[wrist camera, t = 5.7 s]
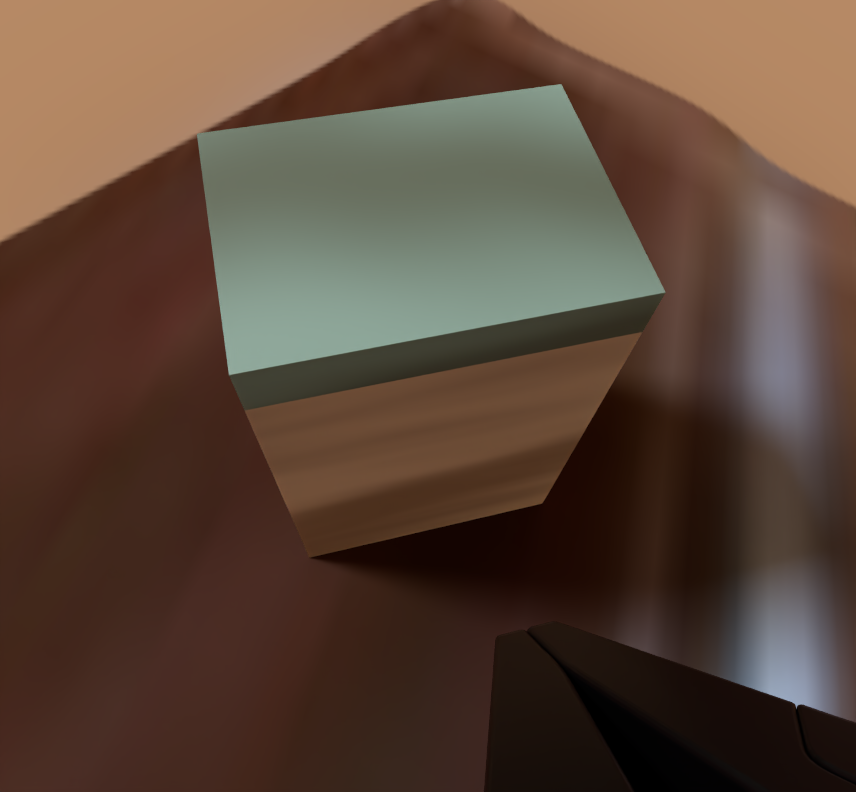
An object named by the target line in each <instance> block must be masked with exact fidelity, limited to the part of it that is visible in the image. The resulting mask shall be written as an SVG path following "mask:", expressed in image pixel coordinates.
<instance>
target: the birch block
mask: <svg viewBox="0 0 856 792" xmlns="http://www.w3.org/2000/svg"><path fill="white" fill-rule="evenodd" d="M197 137H198V145H199V152H200V160H201V167H202V175H203V183H204V190H205V198H206V205H207V213H208V220H209V228H210V235H211V243H212V250H213V258H214V265H215V273H216V280H217V288H218V295H219V303H220V310H221V318H222V325H223V333H224V340H225V348H226V355H227V363H228V370H229V376H230V378H231V380H232V383H233V385H234V387H235V389H236V392H237V394H238V396H239V399H240V401H241V403H242V405H243V408H244V410H245V412H246V415H247V417H248V419H249V421H250V424H251V426H252V428H253V430H254V433H255V435H256V437H257V440H258V442H259V444H260V446H261V449H262V451H263V453H264V455H265V458H266V460H267V462H268V465H269V467H270V469H271V471H272V474H273V476H274V478H275V481H276V483H277V485H278V487H279V490H280V492H281V494H282V496H283V499H284V501H285V503H286V506H287V508H288V510H289V512H290V515H291V517H292V519H293V521H294V524H295V526H296V528H297V531H298V533H299V535H300V537H301V540H302V542H303V544H304V547H305V549H306V551H307V553H308V556H309V558H310V557H315V556H319V555H323V554H327V553H332V552H336V551H340V550H345V549H349V548H353V547H358V546H362V545H366V544H370V543H375V542H379V541H383V540H388V539H392V538H396V537H401V536H405V535H409V534H413V533H418V532H422V531H426V530H431V529H435V528H439V527H443V526H448V525H452V524H456V523H461V522H465V521H469V520H474V519H478V518H482V517H486V516H491V515H495V514H499V513H504V512H508V511H512V510H517V509H521V508H525V507H529V506H534V505H538V504H542V503H543V502H544V500H545V498H546V497H547V495H548V493H549V491H550V490H551V488H552V486H553V485H554V483H555V481H556V479H557V478H558V476H559V474H560V473H561V471H562V469H563V467H564V466H565V464H566V462H567V461H568V459H569V457H570V455H571V454H572V452H573V450H574V449H575V447H576V445H577V443H578V442H579V440H580V438H581V437H582V435H583V433H584V431H585V430H586V428H587V426H588V425H589V423H590V421H591V419H592V418H593V416H594V414H595V413H596V411H597V409H598V407H599V406H600V404H601V402H602V400H603V399H604V397H605V395H606V394H607V392H608V390H609V388H610V387H611V385H612V383H613V382H614V380H615V378H616V376H617V375H618V373H619V371H620V370H621V368H622V366H623V364H624V363H625V361H626V359H627V358H628V356H629V354H630V352H631V351H632V349H633V347H634V346H635V344H636V342H637V340H638V339H639V337H640V335H641V334H642V332H643V330H644V328H645V327H646V325H647V323H648V322H649V320H650V318H651V316H652V315H653V313H654V311H655V310H656V308H657V306H658V304H659V303H660V301H661V299H662V298H663V296H664V294H665V291H664V289H663V287H662V285H661V283H660V281H659V279H658V277H657V275H656V273H655V271H654V269H653V267H652V265H651V263H650V261H649V259H648V257H647V255H646V253H645V251H644V249H643V247H642V245H641V243H640V241H639V239H638V237H637V235H636V233H635V231H634V229H633V227H632V225H631V223H630V221H629V219H628V217H627V215H626V213H625V211H624V209H623V207H622V205H621V203H620V201H619V199H618V197H617V195H616V193H615V191H614V189H613V187H612V185H611V183H610V181H609V179H608V177H607V175H606V173H605V171H604V169H603V167H602V165H601V163H600V161H599V159H598V157H597V155H596V153H595V151H594V149H593V147H592V145H591V143H590V141H589V139H588V137H587V135H586V133H585V131H584V129H583V127H582V125H581V123H580V121H579V119H578V117H577V115H576V113H575V111H574V109H573V107H572V105H571V103H570V101H569V99H568V97H567V95H566V93H565V91H564V89H563V87H562V85H561V84H559V85H552V86H545V87H537V88H530V89H523V90H515V91H508V92H501V93H493V94H486V95H478V96H471V97H464V98H456V99H449V100H442V101H434V102H427V103H420V104H412V105H405V106H398V107H390V108H383V109H375V110H368V111H361V112H353V113H346V114H339V115H331V116H324V117H317V118H309V119H302V120H295V121H287V122H280V123H273V124H265V125H258V126H250V127H243V128H236V129H228V130H221V131H214V132H206V133H199V134H197Z"/></svg>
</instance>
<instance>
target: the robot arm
mask: <svg viewBox="0 0 856 792" xmlns="http://www.w3.org/2000/svg"><path fill="white" fill-rule="evenodd" d="M484 792H856V722H852V721H849V720H846V719H843V718H840V717H837V716H834V715H831V714H828V713H825V712H822V711H819V710H817V709H814V708H811V707H808V706H805V705H798V706H797V710H796V706H795V704H794V703H792V702H790V701H787V700H784V699H781V698H778V697H775V696H772V695H769V694H766V693H763V692H760V691H758V690H755V689H752V688H749V687H746V686H743V685H740V684H737V683H734V682H731V681H728V680H725V679H723V678H720V677H717V676H714V675H711V674H708V673H705V672H702V671H699V670H696V669H693V668H690V667H688V666H685V665H682V664H679V663H676V662H673V661H670V660H667V659H664V658H661V657H658V656H655V655H652V654H650V653H647V652H644V651H641V650H638V649H635V648H632V647H629V646H626V645H623V644H620V643H617V642H615V641H612V640H609V639H606V638H603V637H600V636H597V635H594V634H591V633H588V632H585V631H582V630H580V629H577V628H574V627H571V626H568V625H565V624H562V623H559V622H554V621H553V622H548V623H544V624H541V625H537V626H533V627H530V628H529V629H528V630H527V632H526V631H525V630H518V631H514V632H510V633H506V634H502V635H499V636H497V637H496V640H495V652H494V665H493V679H492V692H491V705H490V719H489V732H488V745H487V759H486V772H485V785H484Z"/></svg>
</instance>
